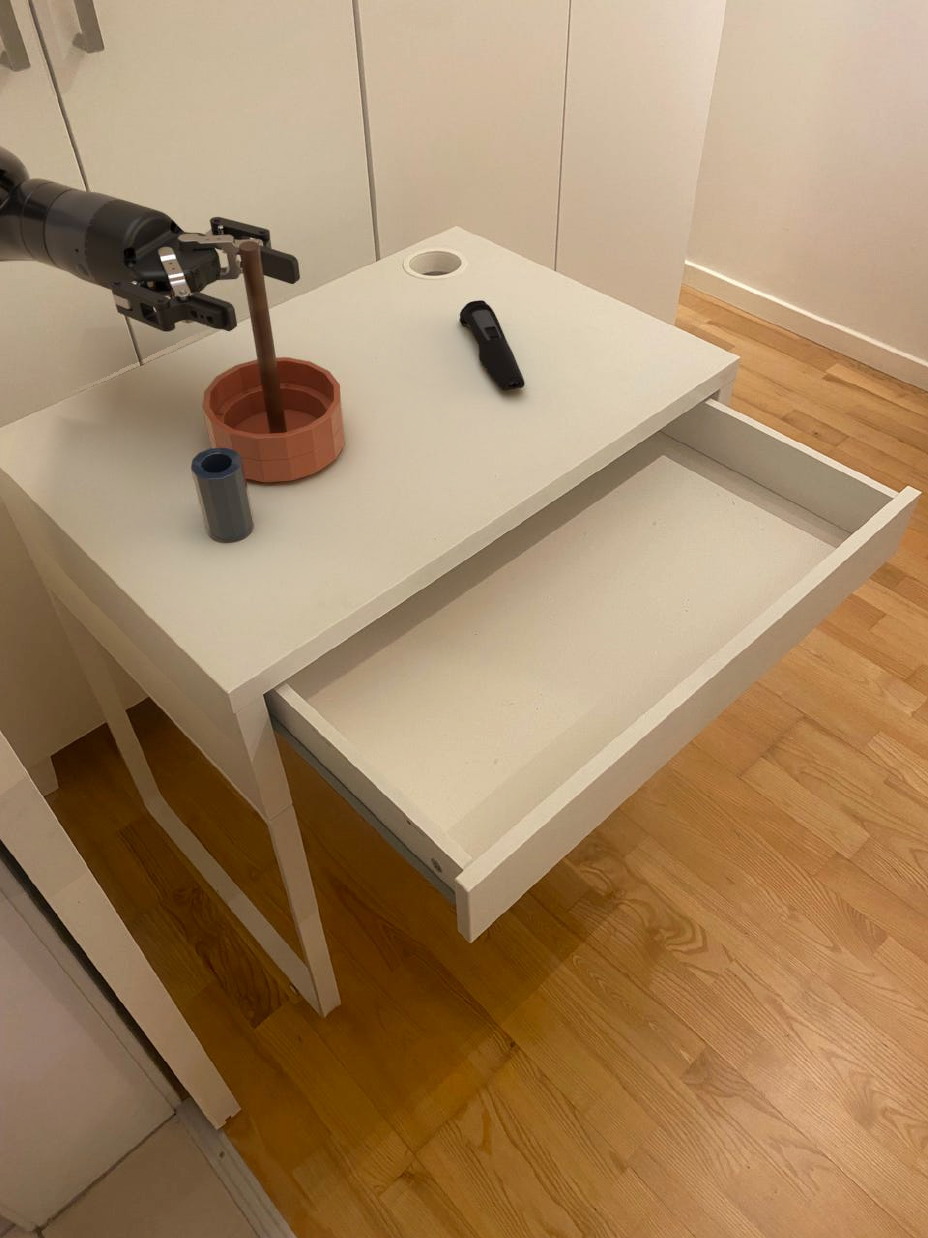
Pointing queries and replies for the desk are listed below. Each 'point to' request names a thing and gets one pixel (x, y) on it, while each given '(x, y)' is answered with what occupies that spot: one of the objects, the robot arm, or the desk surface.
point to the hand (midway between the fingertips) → (266, 293)
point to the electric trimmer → (492, 345)
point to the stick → (262, 334)
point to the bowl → (308, 417)
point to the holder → (223, 494)
